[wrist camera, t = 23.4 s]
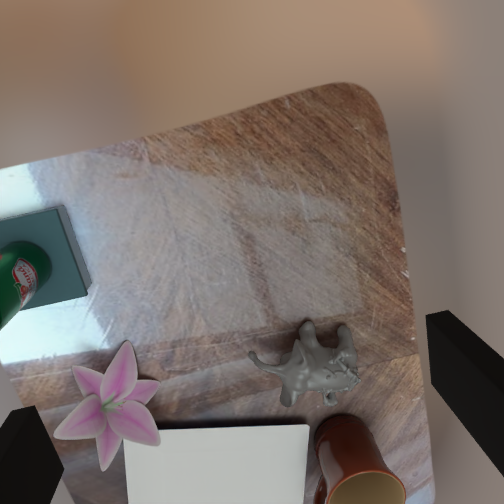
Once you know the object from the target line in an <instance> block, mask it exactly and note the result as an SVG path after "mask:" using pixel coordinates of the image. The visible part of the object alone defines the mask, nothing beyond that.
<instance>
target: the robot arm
mask: <svg viewBox="0 0 504 504" xmlns="http://www.w3.org/2000/svg"><path fill="white" fill-rule="evenodd" d="M426 327H427V339H428V349H429V362H430V373H431V384H432V385H433V387H434V388H435V389H436V390H437V392H438V393H439V394H440V396H441V397H442V398H443V399H444V401H445V402H446V403H447V405H448V406H449V407H450V408H451V410H452V411H453V412H454V414H455V415H456V416H457V417H458V419H459V420H460V421H461V423H462V424H463V425H464V426H465V428H466V429H467V430H468V432H469V433H470V434H471V435H472V437H473V438H474V439H475V441H476V442H477V443H478V444H479V446H480V447H481V448H482V450H483V451H484V452H485V453H486V455H487V456H488V457H489V459H490V460H491V461H492V462H493V464H494V465H495V466H496V468H497V469H498V470H499V472H500V473H501V474H502V475H503V477H504V359H503V358H502V357H501V356H500V355H499V354H498V353H497V352H496V351H494V350H493V349H492V348H491V347H490V346H489V345H487V344H486V343H485V342H484V341H483V340H482V339H481V338H480V337H478V336H477V335H476V334H475V333H474V332H473V331H471V330H470V329H469V328H468V327H467V326H466V325H465V324H464V323H462V322H461V321H460V320H459V319H458V318H457V317H455V316H454V315H453V314H452V313H451V312H450V311H449V310H446V311H441V312H437V313H433V314H428V315H426ZM63 471H64V467H63V465H62V463H61V461H60V458H59V456H58V454H57V452H56V450H55V448H54V446H53V443H52V441H51V439H50V437H49V435H48V433H47V431H46V429H45V426H44V424H43V422H42V420H41V418H40V416H39V414H38V411H37V409H36V407H35V405H34V406H30V407H25V408H21V409H17V410H13V411H11V412H10V414H9V415H8V417H7V418H6V420H5V422H4V423H3V424H2V426H1V428H0V504H50V503H51V500H52V498H53V495H54V493H55V491H56V488H57V486H58V483H59V481H60V479H61V476H62V474H63Z"/></svg>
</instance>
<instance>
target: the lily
mask: <svg viewBox="0 0 504 504" xmlns="http://www.w3.org/2000/svg"><path fill="white" fill-rule="evenodd" d="M72 372H73V375H74V377H75V380H76V382H77V384H78V386H79V389H80V391H81V393H82V394H83V396H84V398H85V399H84V400H83V401H82V402H81V403H80V404H79V405H78V406H77V407H76V408H75V409H74V410H73V411H72V412H71V413H70V414H69V415H68V416H67V417H66V418H65V419H64V420H63V422H62V423H61V424H60V425H59V426H58V427H57V429H56V430H55V432H54V435H53V436H54V437H55V438H56V439H63V440H72V439H87V438H94V437H96V443H97V451H98V457H99V462H100V467H101V470H102V471H103V472H104V471H105V470H106V469H107V468H108V466H109V465H110V463H111V462H112V460H113V458H114V457H115V455H116V453H117V451H118V449H119V446H120V444H121V442H122V438H123V439H126V440H128V441H131V442H135V443H139V444H144V445H148V446H159V445H160V443H161V439H160V434H159V432H158V429H157V426H156V424H155V421H154V419H153V417H152V415H151V413H150V412H149V410H148V409H147V408H146V407H145V405H146V404H147V403H148V402H149V401H150V399H151V398H152V397H153V396H154V395H155V393H156V392H157V390H158V389H159V387H160V384H161V383H160V382H159V381H156V380H137V375H138V372H137V364H136V358H135V354H134V350H133V347H132V345H131V342H130V341H128V340H127V341H125V342H124V343H123V345H122V346H121V348H120V349H119V351H118V352H117V354H116V355H115V357H114V359H113V360H112V362H111V364H110V365H109V367H108V368H107V370H106V372H105V374H104V375H103V374H102V373H100V372H97V371H95V370H92V369H89V368H86V367H82V366H77V365H74V366H72Z"/></svg>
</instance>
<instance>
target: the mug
mask: <svg viewBox="0 0 504 504" xmlns="http://www.w3.org/2000/svg"><path fill="white" fill-rule="evenodd" d="M315 452H316V457H317V460H318V462H319V465H320V469H321V472H322V475H321V477H320V480H319V483H318V486H317V489H316V492H315V495H314V500H313V504H325V499H326V504H405V500H406V491H405V488H404V485H403V483H402V482H401V481H400V479H399V478H398V477H397V476H396V475H395V474H394V473H393V472H392V471H391V470H390V469H389V468H388V467H387V465H386V464H385V462H384V460H383V458H382V456H381V453H380V451H379V449H378V446H377V444H376V442H375V440H374V437H373V435H372V433H371V432H370V431H369V429H368V428H367V426H366V425H365V424H364V423H363V422H362V421H361V420H359V419H358V418H356V417H353V416H348V415H341V416H336V417H333V418H331V419H329V420H327V421H326V422H324V423H323V424H322V425H321V426H320V427H319V429H318V430H317V433H316V436H315Z"/></svg>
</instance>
